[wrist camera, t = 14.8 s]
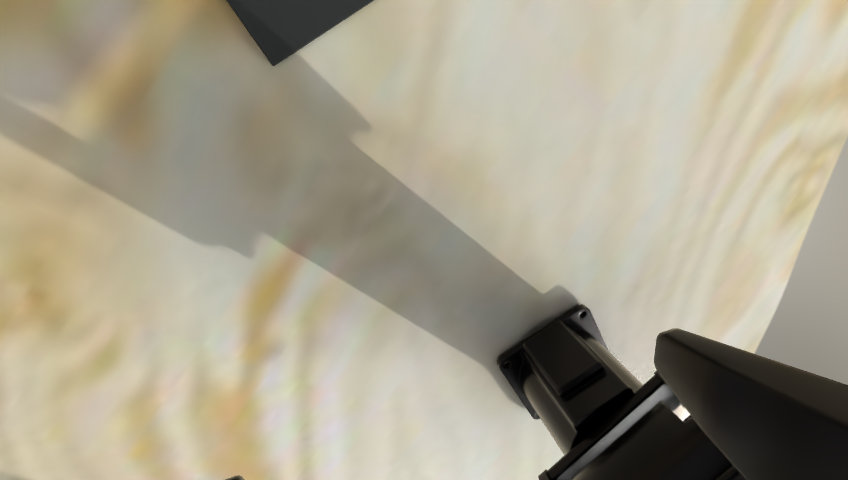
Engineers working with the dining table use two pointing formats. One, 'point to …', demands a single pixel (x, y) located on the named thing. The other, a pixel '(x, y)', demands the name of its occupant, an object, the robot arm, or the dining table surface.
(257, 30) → the mat
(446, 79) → the dining table surface
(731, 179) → the dining table surface
